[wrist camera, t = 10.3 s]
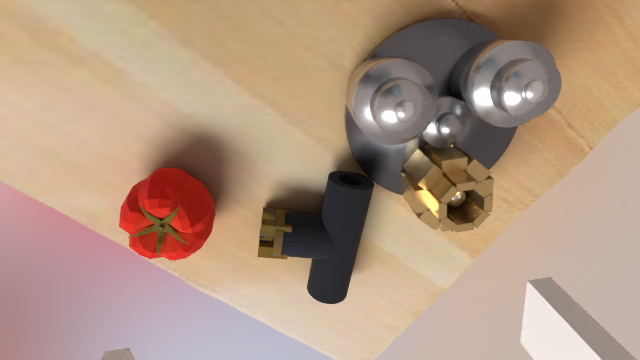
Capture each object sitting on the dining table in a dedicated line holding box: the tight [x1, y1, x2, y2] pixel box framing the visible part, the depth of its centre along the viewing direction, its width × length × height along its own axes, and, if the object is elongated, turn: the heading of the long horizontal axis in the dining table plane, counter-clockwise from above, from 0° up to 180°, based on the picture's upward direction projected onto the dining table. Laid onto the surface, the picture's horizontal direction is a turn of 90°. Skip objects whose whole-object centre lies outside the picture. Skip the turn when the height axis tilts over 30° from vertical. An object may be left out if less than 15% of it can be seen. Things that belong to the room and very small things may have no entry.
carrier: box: [345, 18, 561, 206], centre depth 35 cm, size 19×19×9 cm
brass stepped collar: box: [400, 144, 494, 232], centre depth 37 cm, size 8×8×8 cm
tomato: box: [119, 168, 215, 260], centre depth 37 cm, size 9×9×8 cm
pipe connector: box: [258, 171, 374, 304], centre depth 41 cm, size 12×5×15 cm
